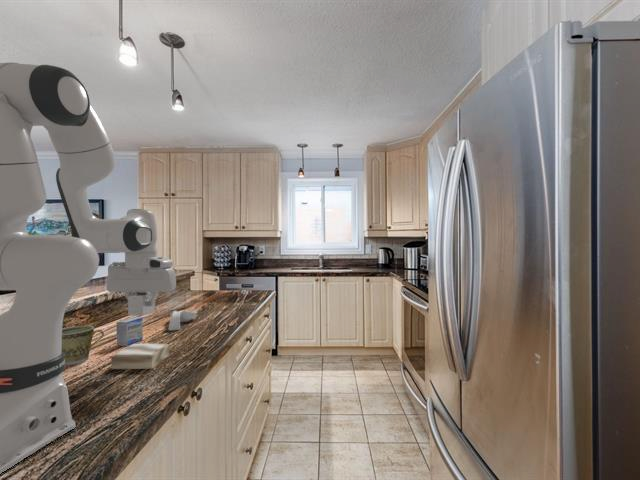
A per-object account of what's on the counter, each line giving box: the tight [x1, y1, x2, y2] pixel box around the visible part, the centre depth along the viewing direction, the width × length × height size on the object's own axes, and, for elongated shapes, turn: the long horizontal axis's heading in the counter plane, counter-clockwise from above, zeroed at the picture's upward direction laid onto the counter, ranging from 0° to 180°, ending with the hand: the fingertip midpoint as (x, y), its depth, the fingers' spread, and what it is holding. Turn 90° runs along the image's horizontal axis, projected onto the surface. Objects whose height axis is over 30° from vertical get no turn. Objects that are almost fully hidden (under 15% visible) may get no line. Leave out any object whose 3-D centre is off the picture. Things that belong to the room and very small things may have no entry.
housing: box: [127, 292, 156, 317], centre depth 100 cm, size 4×7×6 cm, turn 0°
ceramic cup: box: [62, 325, 105, 367], centre depth 100 cm, size 13×10×10 cm
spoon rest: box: [168, 309, 198, 331], centre depth 146 cm, size 24×12×7 cm, turn 13°
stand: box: [110, 343, 171, 370], centre depth 99 cm, size 11×12×4 cm
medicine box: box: [115, 316, 144, 347], centre depth 118 cm, size 8×4×9 cm, turn 168°
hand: (141, 306), depth 100 cm, fingers closed on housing, 4 cm apart
